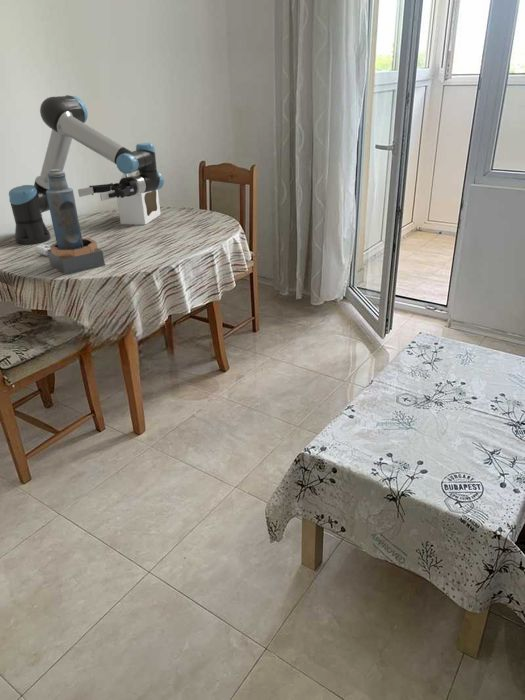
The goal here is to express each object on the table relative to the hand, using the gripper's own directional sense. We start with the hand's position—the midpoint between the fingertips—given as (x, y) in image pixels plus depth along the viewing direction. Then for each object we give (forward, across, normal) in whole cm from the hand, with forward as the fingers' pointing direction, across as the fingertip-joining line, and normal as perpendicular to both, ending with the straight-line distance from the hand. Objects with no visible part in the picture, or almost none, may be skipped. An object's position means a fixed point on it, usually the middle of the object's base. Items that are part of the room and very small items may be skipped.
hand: (89, 195), depth 205 cm
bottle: (+12, +1, -19) cm, 23 cm away
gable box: (-53, +35, -26) cm, 69 cm away
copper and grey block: (+11, 0, -25) cm, 28 cm away
